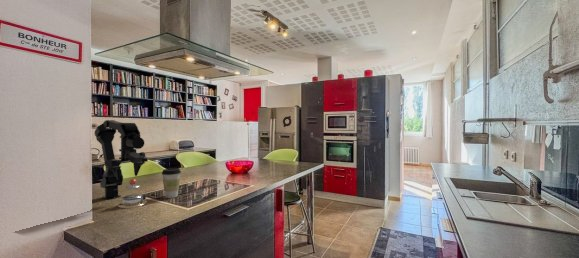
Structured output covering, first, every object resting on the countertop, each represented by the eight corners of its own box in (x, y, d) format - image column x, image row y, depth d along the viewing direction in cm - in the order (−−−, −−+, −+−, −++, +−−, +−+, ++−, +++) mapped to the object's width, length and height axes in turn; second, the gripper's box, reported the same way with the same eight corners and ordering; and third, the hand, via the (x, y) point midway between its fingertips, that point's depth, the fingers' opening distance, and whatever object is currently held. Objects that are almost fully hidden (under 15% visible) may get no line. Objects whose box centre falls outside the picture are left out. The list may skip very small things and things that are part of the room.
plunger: (122, 188, 122) (122, 179, 122) (134, 185, 128) (134, 177, 128) (130, 189, 120) (130, 181, 120) (142, 186, 125) (142, 178, 125)
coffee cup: (175, 198, 133) (175, 171, 133) (157, 198, 133) (157, 171, 133) (184, 193, 143) (184, 168, 143) (167, 193, 143) (167, 168, 143)
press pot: (112, 206, 121) (112, 198, 121) (137, 199, 132) (137, 192, 132) (129, 209, 116) (128, 201, 116) (152, 202, 128) (152, 194, 128)
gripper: (119, 150, 114) (119, 183, 115) (155, 146, 132) (154, 175, 132) (104, 148, 119) (103, 180, 119) (140, 145, 136) (140, 173, 136)
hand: (127, 177), depth 127 cm, fingers open, 9 cm apart
